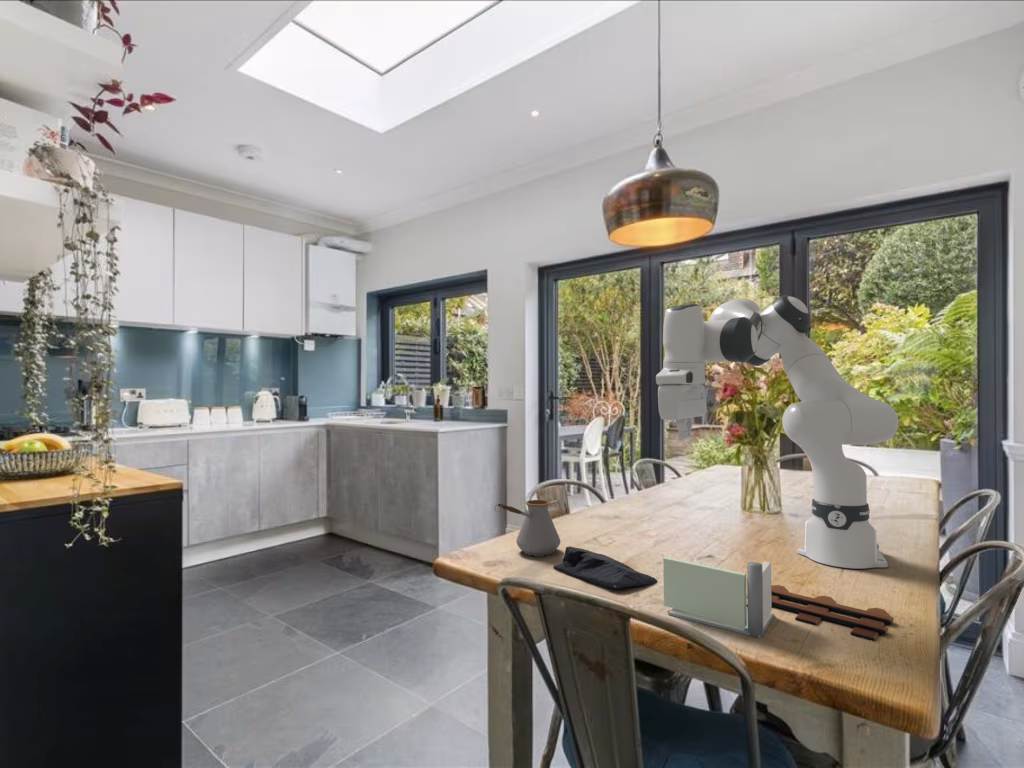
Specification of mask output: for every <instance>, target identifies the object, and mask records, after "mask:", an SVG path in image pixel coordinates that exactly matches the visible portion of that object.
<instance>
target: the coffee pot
mask: <svg viewBox="0 0 1024 768" xmlns="http://www.w3.org/2000/svg"><path fill="white" fill-rule="evenodd" d="M525 504H526V506H527V512H526V511H522V510H520V509H518V508H515V507H513V506H510V505H508V504H503V503H498V504H495V506H494V511H495V513H500V512H501V511H502V510H506V511H509V512H510V513H514V514H518V515H521V516H524V520H523V522H522V525H521V527H520V530H519V532H518V535H517V537H516V542H515V543H516V545H517V546H518V548H519V549H520V550H521V551H522V552H523V553H524V554H525V553H526V554H525V555H527V554H528V556H531V555H534V556H533V557H545V556H544V555H547V556H550V555H552V554H554V552H555V551H556V550H557V549H558V548H559V547H560V545H561V538H560V536H559V533H558V531H557V529H556V526H555V523H554V522H553V519H552V516H551V515H550V513H549V506H550V505H551V501H549V500H545V499H530V500H526V501H525ZM497 506H498V507H499V508H500V510H499V511H497V510H496V507H497ZM551 553H552V554H551ZM549 554H550V555H549Z"/></svg>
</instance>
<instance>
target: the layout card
mask: <svg viewBox="0 0 1024 768" xmlns="http://www.w3.org/2000/svg"><path fill="white" fill-rule="evenodd" d="M668 616H673V617H677V618H679V619H684V620H688V621H692V622H696V623H699V624H700V623H701V624H703V625H708V626H712V627H716V628H719V629H722V630H723V629H724V630H727V631H731V632H736V633H738V634H743V635H747V636H750V633H749V632H748V607H747V626H746V627H745V628H744V627H741V626H737V625H733V624H730V623H726V622H722V621H719V620H715V619H711V618H707V617H704V616H700V615H696V614H693V613H689V612H685V611H682V610H678V609H674V608H672V609H671V610H669V611H668ZM774 617H775V613H773V612H771V613H770V614H769V616H768V617H767V619H766V620H765V622H764V623H763V634H764V633H765V632H766V630H767V629H768V626H769V625H770V623H771V622H772V620H773V619H774ZM757 638H758V639H761V638H762V637H761V635H758V637H757Z"/></svg>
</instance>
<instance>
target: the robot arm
mask: <svg viewBox="0 0 1024 768" xmlns="http://www.w3.org/2000/svg"><path fill="white" fill-rule="evenodd" d="M662 329H663V330H662V346H663V349H664V357H663V363H662V366H663V367H662V369H661V370H660V371H659V372H658V373H657V374H656V376H655V383H656V384H657V385H658V388H657V398H658V399H657V403H658V414H659V416H660V418H661V420H664V421H665V420H666V421H675V426H676V428H677V432H678V433H677V435H678V438H679V440H687V439H690V438H691V436H692V428H693V423H694V418H697V417H702V416H703V417H705V416H706V414H707V397H706V396H707V395H706V388H705V386H704V385H705V384H706V368H705V367H706V363H726V362H731V363H746V364H747V365H749V366H752V367H753V366H755V367H760V366H763V365H764V364H767V362H769V361H770V360H771V358H772V357H775V355H777V354H778V353H779V354H780V357H781V362H782V366H783V369H784V373H785V375H786V377H787V379H788V381H789V383H790V385H791V387H792V389H793V391H794V393H795V394H796V396H797V398H798V399H799V400H800V401H797V402H793V403H790V404H789V405H788V407H786V408H785V410H784V412H783V415H782V419H781V421H782V422H781V424H782V429H783V432H784V433H785V435H786V436H787V438H789V440H790V441H792V442H793V443H795V444H796V445H797V446H798V447H799V448H800V449H801V450H802V451H803V452H804V454H805V455H806V457H807V459H808V461H809V464H810V467H811V471H812V479H813V480H812V483H813V499H812V501H811V507H810V508H811V514H812V516H811V517H810V518H809V519H807V520H806V521H805V522H804V523H805V524H804V525H805V527H804V544H803V545H802V546H800V547H798V548H797V550H796V553H797V554H798V555H802V556H805V557H806V558H809V559H810V560H812V561H814V562H817V563H820V564H823V565H828V566H832V567H837V568H845V569H857V570H858V569H871V568H888V567H889V566H888V565H889V564H888V562H887V559H886V558H885V557H884V555H883V553H882V551H880V548H879V547H880V545H879V544H878V542H877V539H878V538H877V536H878V535H877V530H876V529H875V527H874V526H872V525H871V523H870V521H869V520H870V512H871V511H870V510H871V509H870V506H869V503H868V501H867V499H868V498H867V497H868V496H867V493H868V492H867V491H868V490H867V488H868V487H867V480H868V479H867V474H866V472H865V470H864V469H863V467H862V466H860V464H858V463H856V462H855V461H852V460H850V459H848V458H847V457H846V455H845V454H844V450H843V446H844V445H845V446H847V445H848V446H849V445H853V446H854V445H858V446H859V445H865V446H866V445H873V444H878V443H883V442H887V441H890V440H892V438H893V437H894V436H895V435H896V433H897V431H898V428H899V418H898V414H897V413H896V411H895V409H894V408H893V406H891V404H889V403H887V402H884V401H881V400H878V399H876V398H874V397H871V396H870V395H867V394H865V393H864V392H862V391H860V390H859V389H858V388H856V387H854V386H853V385H851V384H850V383H849V382H848V381H846V380H845V379H844V378H843V377H842V375H841V374H840V372H839V371H838V370H837V368H836V367H835V366H834V364H833V362H832V361H831V359H830V358H829V356H828V355H827V354H826V353H825V351H824V350H823V348H821V347H820V345H818V344H817V343H816V342H815V341H814V340H813V339H811V338H809V337H808V336H807V335H806V333H807V334H809V333H810V332H811V330H812V327H811V313H810V310H809V308H808V307H807V306H806V304H805V303H804V302H803V301H801V299H799V298H797V297H794V296H792V295H789V294H788V295H785V294H783V295H781V296H779V297H777V298H776V299H774V300H773V301H772V302H771V304H770V305H768V307H766V308H765V309H763V310H762V311H761V308H760V306H759V305H758V304H757V303H756V302H755V301H754V300H752V299H748V298H734V299H731V300H728V301H726V302H724V303H722V304H720V305H719V306H717V307H716V308H715V309H713V311H712V313H711V315H710V316H709V320H704V318H703V310H702V307H701V304H698V303H687V304H685V303H684V304H678V305H671V306H670V307H668V308H667V309H666V310H665V314H664V320H663V328H662Z"/></svg>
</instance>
